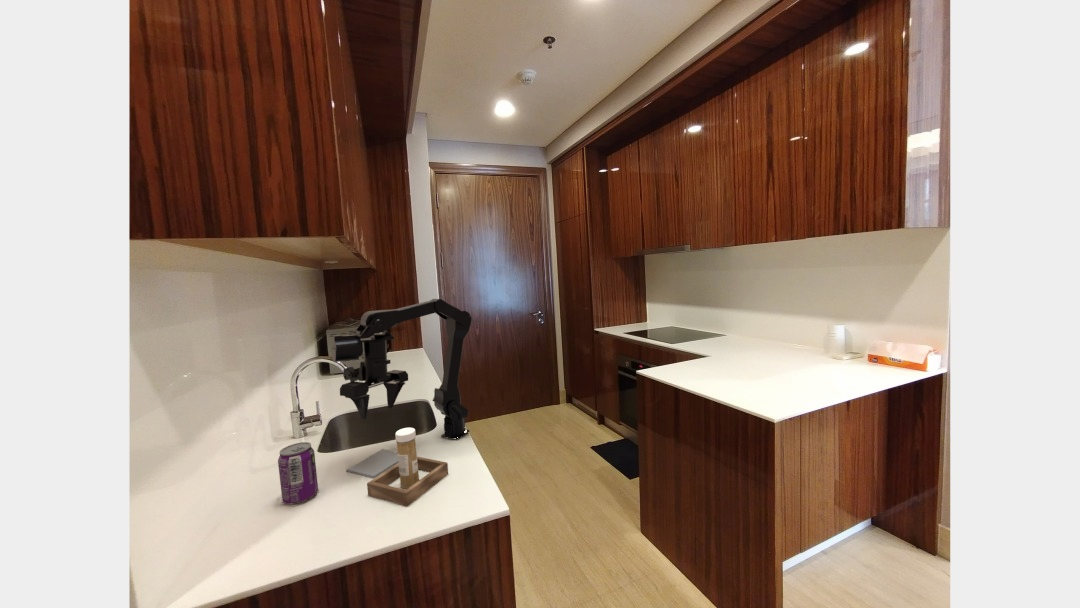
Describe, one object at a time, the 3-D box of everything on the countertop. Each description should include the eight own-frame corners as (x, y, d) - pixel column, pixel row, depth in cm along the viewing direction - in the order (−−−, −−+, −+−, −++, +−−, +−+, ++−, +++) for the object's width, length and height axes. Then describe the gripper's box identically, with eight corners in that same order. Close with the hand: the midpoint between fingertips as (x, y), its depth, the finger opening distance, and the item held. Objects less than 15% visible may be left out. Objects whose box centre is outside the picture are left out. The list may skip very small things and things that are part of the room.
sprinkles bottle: (423, 483, 90) (418, 430, 89) (404, 492, 87) (399, 436, 86) (414, 477, 93) (410, 425, 92) (396, 484, 90) (391, 431, 89)
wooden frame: (412, 466, 99) (411, 455, 98) (448, 473, 94) (447, 462, 93) (368, 495, 86) (366, 483, 86) (407, 506, 81) (406, 493, 81)
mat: (382, 450, 109) (382, 448, 108) (408, 456, 104) (408, 454, 104) (346, 471, 98) (346, 469, 98) (373, 478, 94) (373, 476, 93)
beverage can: (325, 490, 89) (320, 442, 88) (299, 508, 82) (293, 456, 82) (302, 487, 91) (297, 440, 90) (274, 504, 84) (269, 454, 83)
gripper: (379, 350, 113) (381, 400, 114) (323, 361, 96) (325, 421, 96) (408, 352, 109) (410, 404, 109) (354, 364, 91) (357, 427, 92)
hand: (377, 413), depth 102 cm, fingers open, 9 cm apart
